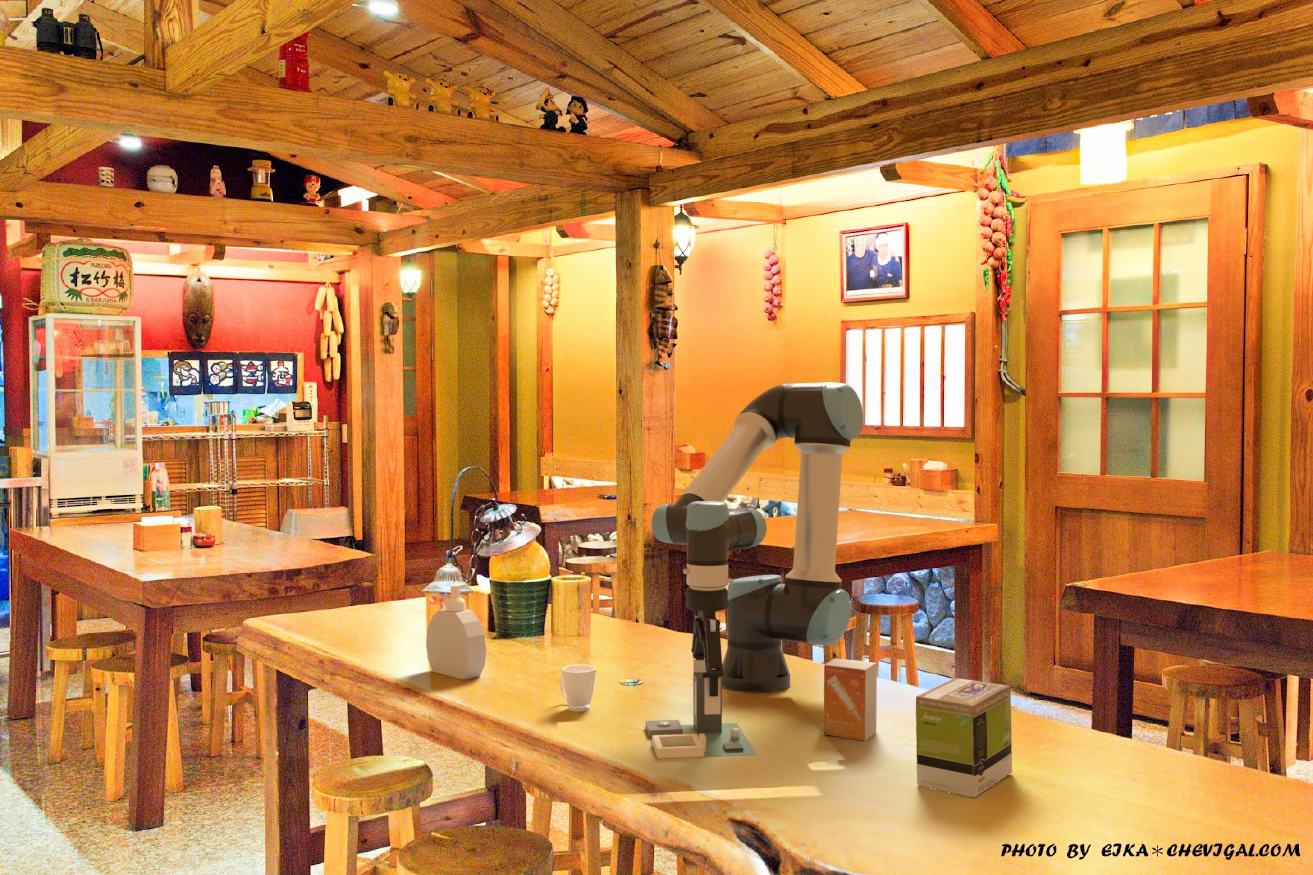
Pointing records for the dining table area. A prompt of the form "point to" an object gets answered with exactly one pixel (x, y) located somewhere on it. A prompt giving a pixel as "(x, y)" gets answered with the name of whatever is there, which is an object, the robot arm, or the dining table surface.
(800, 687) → the dining table surface
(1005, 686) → the tea box
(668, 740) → the frame
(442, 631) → the soap bottle
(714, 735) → the board
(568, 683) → the cup
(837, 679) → the small box
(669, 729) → the grey push button
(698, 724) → the plug
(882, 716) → the dining table surface
